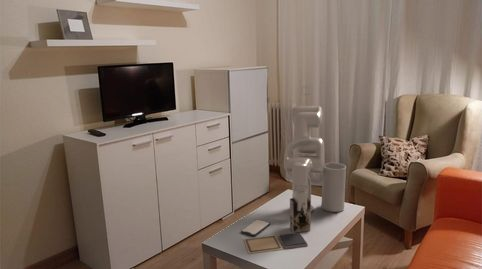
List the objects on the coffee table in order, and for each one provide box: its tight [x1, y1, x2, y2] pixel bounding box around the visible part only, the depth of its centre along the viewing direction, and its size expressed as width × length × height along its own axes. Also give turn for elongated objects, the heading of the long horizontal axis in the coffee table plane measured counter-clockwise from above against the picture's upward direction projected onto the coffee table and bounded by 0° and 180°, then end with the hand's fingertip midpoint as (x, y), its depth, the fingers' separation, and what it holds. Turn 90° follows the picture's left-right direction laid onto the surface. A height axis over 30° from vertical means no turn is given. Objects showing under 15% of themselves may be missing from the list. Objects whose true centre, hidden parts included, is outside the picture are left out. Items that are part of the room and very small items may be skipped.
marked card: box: [243, 234, 284, 255], centre depth 176 cm, size 13×16×1 cm
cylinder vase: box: [321, 162, 347, 213], centre depth 209 cm, size 12×12×25 cm
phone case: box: [240, 219, 271, 238], centre depth 192 cm, size 9×2×16 cm
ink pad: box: [277, 232, 309, 250], centre depth 178 cm, size 11×11×2 cm
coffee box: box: [289, 198, 312, 233], centre depth 188 cm, size 9×6×16 cm
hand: (300, 219), depth 189 cm, fingers closed on coffee box, 6 cm apart
